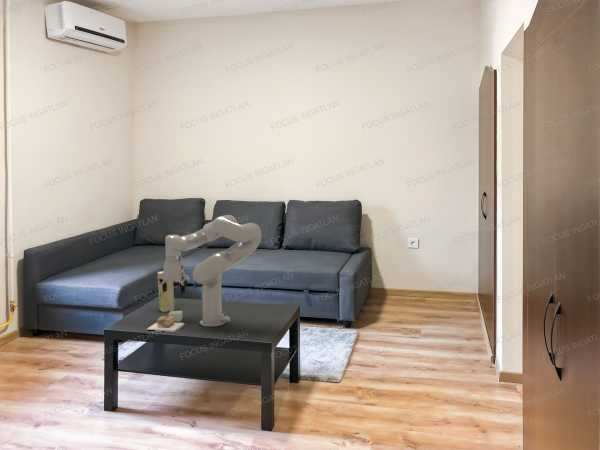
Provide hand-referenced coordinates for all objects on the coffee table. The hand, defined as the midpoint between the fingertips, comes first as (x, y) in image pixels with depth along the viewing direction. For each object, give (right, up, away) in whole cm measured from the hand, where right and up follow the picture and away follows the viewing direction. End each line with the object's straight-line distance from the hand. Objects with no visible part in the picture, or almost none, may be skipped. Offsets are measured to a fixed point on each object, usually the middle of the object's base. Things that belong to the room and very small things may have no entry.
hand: (173, 292), depth 287 cm
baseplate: (-1, -16, -12) cm, 20 cm away
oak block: (-1, -15, -13) cm, 20 cm away
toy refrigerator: (-9, -13, +21) cm, 26 cm away
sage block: (+1, -15, +1) cm, 15 cm away
